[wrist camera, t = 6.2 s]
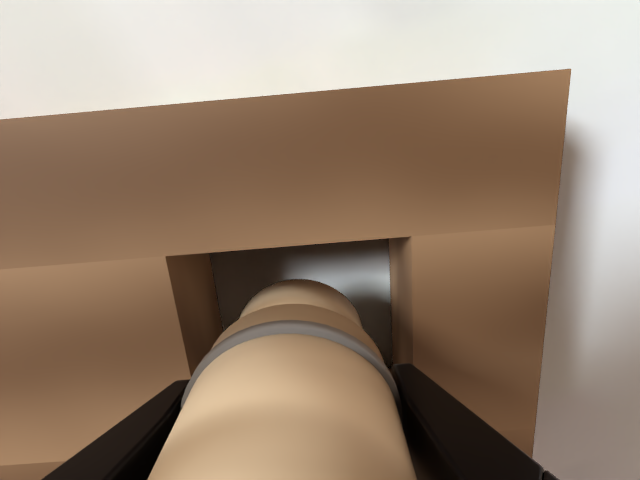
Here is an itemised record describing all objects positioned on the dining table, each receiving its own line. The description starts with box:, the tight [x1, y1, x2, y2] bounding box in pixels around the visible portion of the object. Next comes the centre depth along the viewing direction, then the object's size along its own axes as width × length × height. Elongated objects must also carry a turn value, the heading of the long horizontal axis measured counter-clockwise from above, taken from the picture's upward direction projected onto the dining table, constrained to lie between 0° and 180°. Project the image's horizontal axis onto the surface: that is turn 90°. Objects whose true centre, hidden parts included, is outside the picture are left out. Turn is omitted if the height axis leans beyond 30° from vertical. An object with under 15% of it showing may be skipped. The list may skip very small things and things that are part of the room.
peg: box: [147, 279, 417, 480], centre depth 6 cm, size 4×4×8 cm
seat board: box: [0, 69, 571, 480], centre depth 11 cm, size 12×18×3 cm, turn 95°
